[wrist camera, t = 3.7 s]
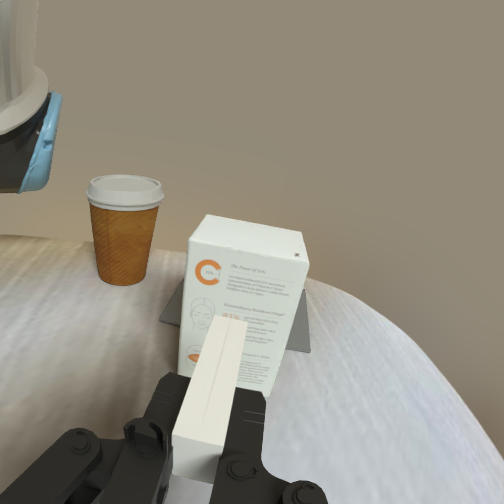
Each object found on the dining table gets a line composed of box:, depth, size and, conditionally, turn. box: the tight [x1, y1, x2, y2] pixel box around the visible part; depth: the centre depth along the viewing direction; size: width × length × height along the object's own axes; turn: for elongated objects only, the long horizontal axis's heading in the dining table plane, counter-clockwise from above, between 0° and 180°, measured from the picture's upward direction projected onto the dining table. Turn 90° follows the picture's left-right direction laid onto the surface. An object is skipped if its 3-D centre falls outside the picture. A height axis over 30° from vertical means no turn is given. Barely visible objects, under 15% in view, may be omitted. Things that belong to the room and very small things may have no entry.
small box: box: [178, 215, 310, 398], centre depth 26 cm, size 8×6×13 cm
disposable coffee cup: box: [86, 175, 164, 286], centre depth 38 cm, size 10×10×12 cm
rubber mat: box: [159, 279, 311, 353], centre depth 39 cm, size 16×14×1 cm
